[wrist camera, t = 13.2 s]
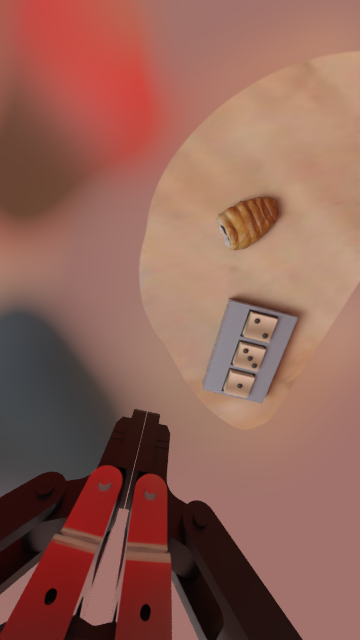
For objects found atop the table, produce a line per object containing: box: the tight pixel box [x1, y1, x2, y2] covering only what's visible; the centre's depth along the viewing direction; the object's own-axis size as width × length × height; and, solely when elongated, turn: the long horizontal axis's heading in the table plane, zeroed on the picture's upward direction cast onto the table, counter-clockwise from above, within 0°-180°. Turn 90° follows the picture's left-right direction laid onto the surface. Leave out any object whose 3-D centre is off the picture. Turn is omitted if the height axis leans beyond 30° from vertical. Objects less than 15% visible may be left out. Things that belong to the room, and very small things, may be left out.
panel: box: [202, 299, 298, 403], centre depth 41 cm, size 18×12×2 cm, turn 166°
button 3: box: [232, 340, 266, 371], centre depth 40 cm, size 4×4×3 cm
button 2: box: [241, 310, 278, 343], centre depth 38 cm, size 4×4×3 cm
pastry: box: [217, 197, 278, 250], centre depth 34 cm, size 9×7×4 cm
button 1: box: [223, 368, 255, 398], centre depth 41 cm, size 4×4×3 cm
